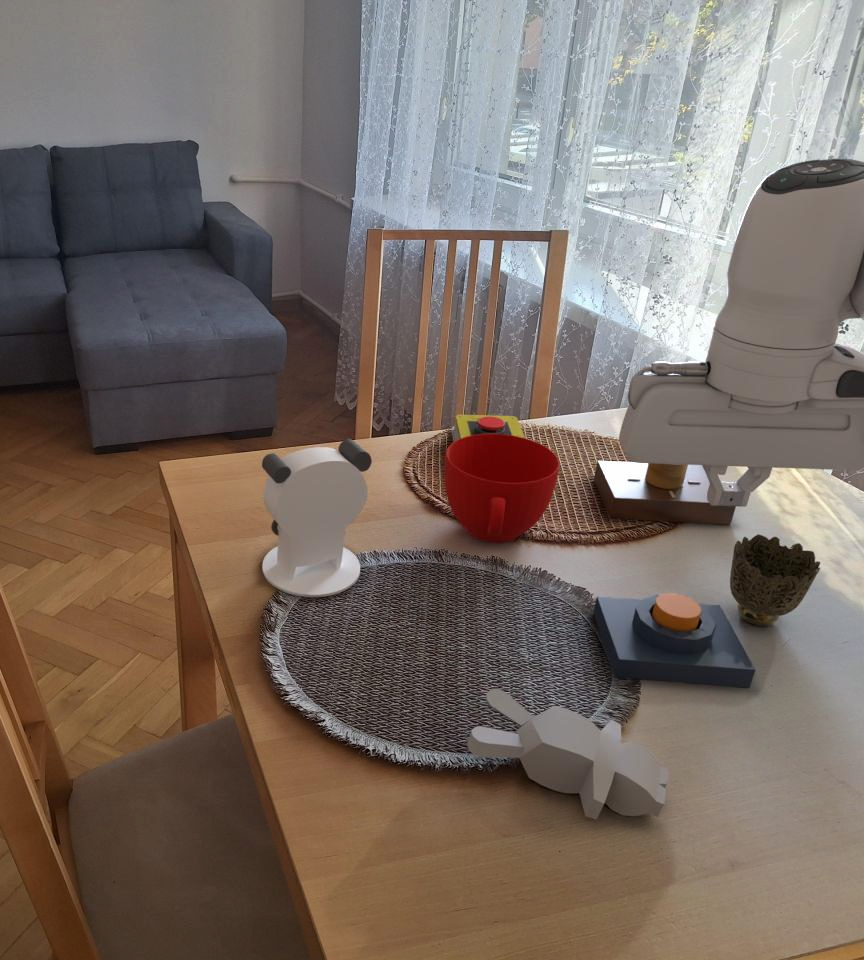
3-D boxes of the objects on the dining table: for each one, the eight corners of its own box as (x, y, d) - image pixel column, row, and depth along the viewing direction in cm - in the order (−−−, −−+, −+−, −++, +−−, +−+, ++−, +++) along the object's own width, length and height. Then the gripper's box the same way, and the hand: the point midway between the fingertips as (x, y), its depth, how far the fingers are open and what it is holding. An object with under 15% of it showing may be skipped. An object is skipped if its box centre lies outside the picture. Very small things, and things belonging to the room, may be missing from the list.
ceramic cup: (430, 567, 99) (438, 493, 94) (442, 496, 113) (449, 428, 109) (549, 584, 96) (563, 507, 91) (546, 509, 110) (558, 438, 105)
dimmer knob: (674, 472, 111) (681, 446, 109) (689, 489, 107) (696, 462, 105) (639, 472, 111) (645, 446, 109) (652, 489, 107) (659, 462, 105)
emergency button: (517, 404, 128) (535, 449, 115) (513, 430, 130) (531, 478, 117) (453, 402, 129) (464, 447, 116) (450, 429, 131) (461, 475, 118)
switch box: (714, 621, 89) (724, 590, 87) (749, 688, 81) (761, 655, 79) (593, 613, 91) (599, 582, 89) (614, 677, 82) (622, 644, 81)
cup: (704, 618, 90) (723, 555, 86) (729, 587, 94) (749, 526, 90) (784, 650, 85) (808, 585, 81) (806, 616, 89) (830, 553, 86)
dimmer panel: (704, 485, 114) (710, 464, 112) (730, 525, 105) (737, 502, 104) (593, 480, 116) (597, 459, 114) (610, 518, 107) (614, 496, 106)
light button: (690, 608, 86) (694, 594, 85) (702, 634, 82) (707, 619, 81) (647, 605, 86) (651, 591, 85) (658, 630, 83) (662, 616, 82)
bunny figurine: (667, 817, 63) (469, 731, 69) (645, 859, 66) (456, 773, 72) (679, 733, 71) (498, 661, 76) (658, 774, 73) (485, 702, 79)
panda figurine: (337, 532, 107) (341, 423, 99) (383, 582, 97) (391, 465, 90) (248, 553, 103) (245, 441, 96) (286, 606, 94) (286, 487, 86)
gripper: (644, 375, 72) (614, 515, 79) (916, 380, 69) (861, 526, 75) (626, 348, 77) (600, 481, 84) (877, 352, 74) (829, 490, 81)
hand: (725, 503), depth 80 cm, fingers closed
